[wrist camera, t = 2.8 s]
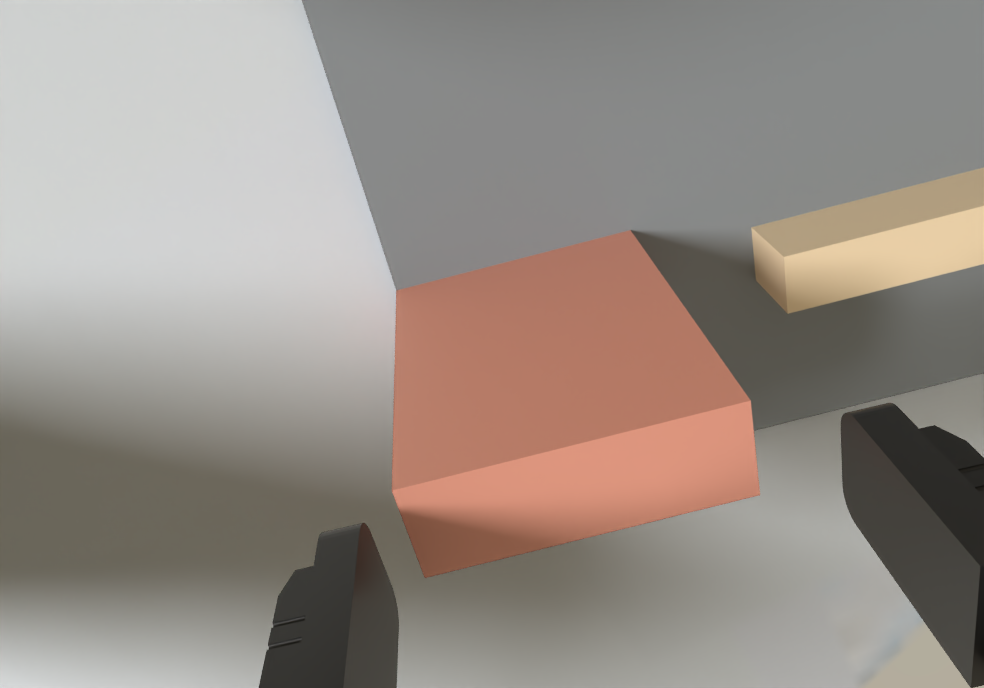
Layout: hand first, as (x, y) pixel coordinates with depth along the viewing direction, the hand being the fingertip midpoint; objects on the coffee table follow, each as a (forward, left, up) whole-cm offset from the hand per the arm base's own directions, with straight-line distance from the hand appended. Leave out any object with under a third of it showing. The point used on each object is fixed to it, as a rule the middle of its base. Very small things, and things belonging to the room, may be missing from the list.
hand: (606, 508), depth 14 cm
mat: (+6, +1, -9) cm, 10 cm away
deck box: (0, 0, -8) cm, 8 cm away
